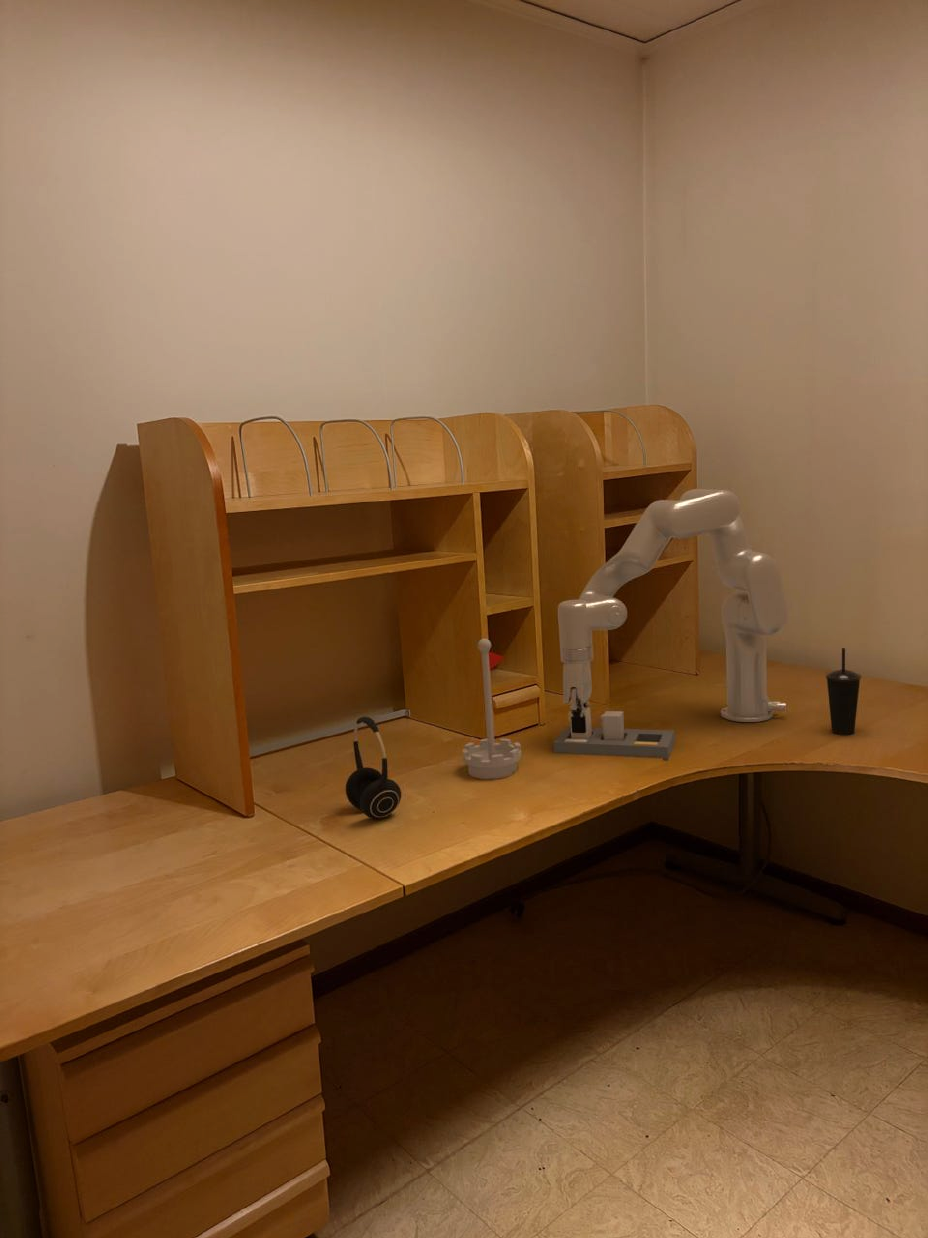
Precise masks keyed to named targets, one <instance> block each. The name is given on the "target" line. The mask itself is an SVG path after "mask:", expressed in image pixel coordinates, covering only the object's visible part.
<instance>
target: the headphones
mask: <svg viewBox="0 0 928 1238" xmlns="http://www.w3.org/2000/svg"><path fill="white" fill-rule="evenodd" d="M361 723H364V724H365V725H367V727H369V728H370V729H371V730H372V732H373V734H375V736H376V738H377V740H378V743H379V746H380V751H381V756H382V757H381V764H382V765H381V772H380V771H379V770H377V769H375V768H373V767H369V766H368V767H364V765H363V759H362V756H361V752H360V749H359V748H360V747H359V742H358V729H359V726H360V724H361ZM379 732H380V730H379V728H378V726H377V724H376V722H375V720H374V719H373V718H371V717H369V716H362V717H359V718H358V719H357V720H356V724H355V726H354V729H353V741H352V743H353V744H352V746H353V753H354V760H355V766H356V770H354V771H353V772H352V773H351V774H350V775H349V777H348V778H347V781H346V784H345V795H346V798H347V800H348V802H349V803H350V804H351V805H352V806H353V807H354V808H356V809H358V810H360V811H362V813H363V814H364V815H365V816H366V817H367V818H371V819H376V820H377V819H382V818H386V817H388V816H389V815H391V814H392V813H393V812H394V811H395V810H396V809H397V808H398V807H399V805H400V803H401V799H402V790H401V787H400V786H399V784H398V783H397V782H396V781H395V780H393V779H390V778H389V777H388V776H389V774H388V771H389V770H388V758H387V755H386V749H385V746H384V742H383V740H382V737H381V735H380V733H379Z"/></svg>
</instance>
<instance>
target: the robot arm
mask: <svg viewBox="0 0 928 1238" xmlns="http://www.w3.org/2000/svg"><path fill="white" fill-rule="evenodd" d="M740 511H741V503H740V500H739V499H738V497H737V495H736V494H735V493H733V492H732V491H729V490H726V489H710V488H693V489H690V490H689V489H688V490H687V491H686V492H684V493H683V494H682V495H681V496H680V498H679V500H672V499H671V500H668V499H667V500H665V499H661V500H655V501H653V502H651V503H650V504H649V505H648V506H647V507H646V508H645V510H644V512H643V513H642V515H641V517H640V518H639V520H638V521H637V523H636V524H635V526H634V528H633V529H632V531H631V532H630V534H629V536H628V538H627V539H626V541H625V543H624V544H623V545H622V547H621V549H620V550H619V551H618V552H617V553H616V554H615V555H613V556H612V557H610V559H609V560H608V561H606V563H604V564H603V565H602V566H601V567H600V568H598V570H597V571H596V572H595V573H594V574H593V575H592V576H591V578H590V579H589V581H588V582H587V584H586V586H585V587H584V589H583V590H582V592H581V594H580V595H579V598H578V599H568V600H564V601H563V600H562V602H560V603H559V604H558V606H557V620H558V621H557V622H558V635H559V651H560V652H559V653H560V662H561V663H563V669H562V689H563V694H562V695H563V697H562V698H563V699H562V700H563V704H564V705H568V704H569V703H570V707H569V709H570V710H571V723H572V732H573V733H585V732H586V723H585V716H584V707H590V703H589V699H590V697H591V695H592V690H593V689H592V687H593V686H592V684H593V683H592V672H591V662H592V661H594V646H593V631H610V630H615V629H618V628H621V626H622V625H624V623H625V622H626V620H627V618H628V610H627V607H626V605H625V604H624V602H622V601H621V600H620V599H618V598H616V597H614V595H615V594H616V593H617V592H618V590H619V589H620V588H622V586H624V585H625V584H627V583H628V582H629V581H632V580H633V579H636V578H639V577H641V576H643V575H645V574H647V573H648V572H650V571H652V570H653V568H654V566H655V565H656V563H657V562H658V560H659V558H660V556H661V555H662V553H663V552H664V550H665V548H666V546H667V545H668V544H669V542H670V540H671V539H673V538H675V539H688V538H690V537H691V538H692V537H696V536H699V535H703V534H707V536H708V537H709V539H710V543H711V546H712V550H713V555H714V560H715V564H716V568H717V573H718V576H719V579H720V581H721V583H722V584H723V585H724V586H725V587H728V588H729V589H734V590H738V591H734V592H731V593H730V594H729V595H727V597H725V599H724V601H723V603H722V605H721V611H720V612H721V613H720V614H721V620H722V625H723V630H724V634H725V637H724V638H725V649H726V650H725V651H726V652H725V654H726V655H725V658H726V662H725V665H726V667H725V668H726V704H727V705H726V706H725V707H723V708H722V709H720V716H721V717H722V718H723V719H725V720H729V721H733V722H740V723H757V722H764V721H767V720H768V721H769V720H770V719H772V718H773V717H774V711H779V712H785V711H786V709H787V708H786V707H787V706H786V702H782V701H777V700H775V701H771V700H770V699H769V695H767V645H766V639H765V636H775V635H777V634H779V633H780V632H782V630H783V629H784V628H785V627H786V625H787V622H788V618H789V616H788V615H789V613H788V612H789V611H788V603H787V599H786V595H785V589H784V584H783V580H782V579H783V578H782V575H781V570H780V567H779V566H778V563H777V562H776V561H775V559H774V558H772V557H771V556H770V555H768V554H767V553H764V552H758V551H753V550H752V548H751V545H750V540H749V538H748V535H747V534H748V533H747V530H746V527H745V524H744V522H743V520H742V519H741V516H740ZM577 707H580V709H579V708H577ZM570 710H569V711H570Z"/></svg>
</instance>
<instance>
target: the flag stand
mask: <svg viewBox="0 0 928 1238" xmlns="http://www.w3.org/2000/svg"><path fill="white" fill-rule="evenodd" d="M477 648H478V650H479V651H480V652H481V662H482V663H481V664H482V677H483V693H484V694H483V695H484V705H485V710H484V711H485V722H486V725H485V726H486V738H483V739H479V744H478V745H475V743H474V742H472V741H471V742H469V743H466V744H464V748H462V750H461V753H462V754H461V755H462V761H463V762H464V763H465V764H466V765H467V771H468V775H470V776H472V777H474V778H478V779H482V780H483V779H484V780H493V779H502V778H507V777H510V776H512V775H514V774H515V773H516V772H515V771H516V770H517V769H518V762H519V760H521V758H522V745H521V744H520V742H514V743H512V739H509V738H500V740H499V742H495V732H494V729H495V728H494V715H493V699H492V686H491V685H492V683H491V672H490V671H492V669H493V668H494V667H496V666H497V665H498V664H499V663H500V662H502V661H503V660H504V659H506V657H504V656H502V655H500V654H497V653H494V652H492V651H490V650H491V649H492V642H491V641H490V640H489V639H487V638H481V639H480V640H479V641H478V642H477Z"/></svg>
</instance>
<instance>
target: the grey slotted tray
mask: <svg viewBox="0 0 928 1238" xmlns="http://www.w3.org/2000/svg"><path fill="white" fill-rule="evenodd" d="M624 717H625V716H624V711H616V710H615V711H614V710H605V712H604V713H602V714H601V716H600V726H602V727H591V728H592V736H591V738H590V739H571V726H564V728H563V729H562V730H561V732H560V733H559V734H558V735H557V737H556V738H555V739H554V740H553V742H552V743H553V744H552V745H553V754H571V755H591V756H592V755H594V756H595V755H596V756H611V757H612V756H615V757H632V758H633V757H636V758H657V759H659V758H660V759H662V761H669V759H670V757H671V753H672V751H673V749H674V746H675V744H674V743H675V741H676V738H675V730H668V729H667V730H663V729H661V730H659V729H635V728H633V729H632V728H625V720H624Z"/></svg>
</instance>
